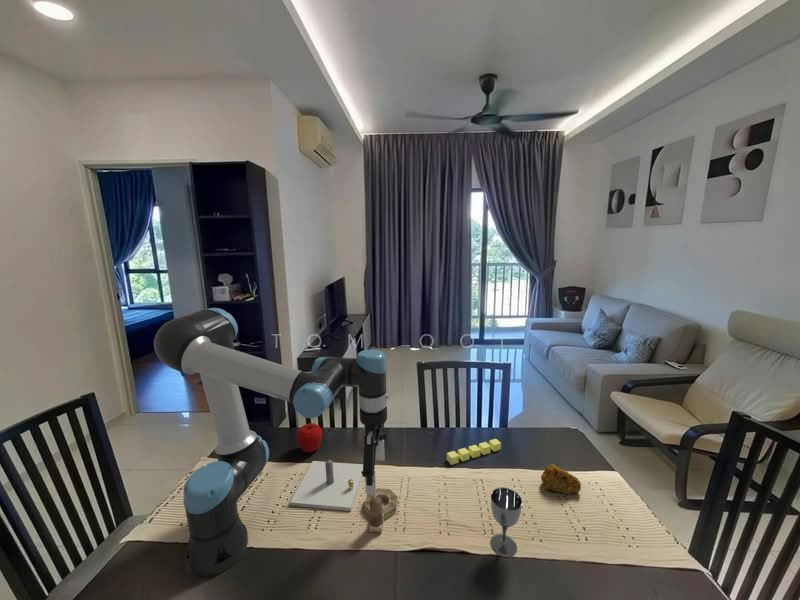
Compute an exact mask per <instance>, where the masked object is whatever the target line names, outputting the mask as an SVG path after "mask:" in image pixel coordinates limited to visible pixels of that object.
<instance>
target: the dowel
mask: <svg viewBox="0 0 800 600" xmlns="http://www.w3.org/2000/svg"><path fill="white" fill-rule="evenodd" d="M348 485H349V490H353V480H352V479H350V480H349V481H348Z"/></svg>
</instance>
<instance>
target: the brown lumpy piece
mask: <svg viewBox="0 0 800 600" xmlns="http://www.w3.org/2000/svg"><path fill="white" fill-rule="evenodd" d="M540 478H541V482H542V486H543V488H545V490H551V491H553V492H558V493H559V492H560V493H562V494H563V495H571V494H578V493H580V491H581V489H582V484H581V481H580V479H579V478H578V477H577V476H574V475H573V474H571V473H569V471H566V470H565V469H563V468H560V467H558V466H557V465H555V464H550V465H547V467H546V468H545V470H544V471H543V472H542V474H541V475H540Z"/></svg>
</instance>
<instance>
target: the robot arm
mask: <svg viewBox="0 0 800 600" xmlns="http://www.w3.org/2000/svg"><path fill="white" fill-rule="evenodd" d="M238 332H239V327H238V323H237V321H236V319H235V318H234V316H232V314H230V312H227V311H226V310H224V309H222V308H218V307H210V308H206V309H203V308H202V309H201V310H198V311H195V312H192V313H189V314H186V315H183V316H181V317H177V318H173V319H170V320H169V321H166V322H165V323H164V324H163V325H161V327H160V328H159V329H158V330H157V332H156V334H155V335H154V338H153V348H154V352H155V354H156V356H157V358H158V359H159V361H161V363H163V364H165V365H166V367H169V368H171V369H172V370H174V371H176V372H180V373H183V374H185V375H193V374H194V375H195V374H196V373H198V374H199V376H200V379H201V383H202V387H203V390H204V393H205V398H206V401H207V405H208V408H209V411H210V415H211V418H212V421H213V422H212V423H213V426H214V429H215V433H216V436H217V440H218V443H217V444H216V446H215V447H214V452H215V456H216V459H217V460H216V461H212V462H209V463H207V464H206V465H205V466H204V465H203V466H200V467H199V468H198V469H196V470H195V471H194V472H192V473H191V475H190V476H189V477H188V479H187V480H186V481H185V484H184V486H183V505H184V506H183V507H184V510H185V517H186V521H187V525H188V526H187V527H188V533H189V538H188V542H187V546H186V549H185V555H184V558H185V559H184V560H185V566H186V569H187V571H188V572H189V574H191V575H193V576H195V577H199V578H205V577H207V578H208V577H211V576H215V575H219V574H220V573H222V572H224V571H226V570H228V569H229V568H231V567H232V566H233V565H234V564H235V563H237V562H238V561H239V560H240V559H241V557H242V556H243V554H244V553H245V551H246V549H247V546H248V544H249V535H248V534H249V533H248V530H247V527H246V525H245V523H243V522H242V520H241V518H240V516H239V512H238V501H239V499H240V498H241V497H242V496H243V495H244V493H245V492H246V491H247V490H248V489H249V487H250V485H252V484H253V482H254V481H255V480H256V479H257V478H258V476H259V475H260V474H261V473H262V472H263V470H264V468H265V466H266V465H267V464H268V461H269V458H270V449H269V446H268V443H267V442H266V441H265V439H262V438H263V437H261V436H260V435H258V434H257V432H255V431H253V430H251V429H250V427H249V422H248V419H247V415H246V411H245V407H244V403H243V399H242V396H241V391H240V388H239V387H242V388H245V389H247V390H251V391H254V392H258V393H261V394H264V395H267V396H269V397H273V398H275V399H280V400H281V401H282V400H283V401H286V402H288V403H291V404H293V407H294V409H295V411H296V412H297V413H298V414H299V415H300V416H302V417H303V418H305V419H314V418H315V419H316V418H318V417H320V416H321V415H322V414H323V413H324V412H325V411H326V410H327V409H328V407H330V406H331V404H332V401H333V400H334V399H335V397H336V396H337V394H338V393H340V390H341V389H342V388H343V387H345V388H346V387H348V388H349V387H350V388H354V387H355V388H358V407H359V409H358V410H359V421H360V423H361V424H362V425H364V426H365V427H366V428H365V432H364V434H365V435H364V437H363V441H364V442H363V443H364V444H363V445H364V447H363V458H362V459H363V463H362V464H363V471H361V474H362V478H364V485H365V488H364V489H365V494H366V495H367V494H373V495H376V489H377V479H376V477H377V475H376V470H375V469H376V467H375V466H376V461H385V440H386V439H387V434H385V433H386V430H385V429H386V428H385V423H386V422H387V420H388V407H387V405H388V402H387V401H388V400H389V398H390V397H389V395H387V366H386V365H387V364H386V355H385V353H384V352H383V351H381V350H379V349H372V348H371V349H363V350H361V351H359V352H358V353H357V355H356V357H355V358H351V357H336V356H335V357H334V356H333V357H332V356H327V357H326V356H322V357H321V356H320V357H318V358H316V359H315V360H314V363H313V365H312V367H311V373H309V372H306V371H303V370H299V369H297V368H293V367H290V366H287V365H283V364H280V363H277V362H274V361H271V360H267V359H264V358H262V357H258V356H255V355H252V354H249V353H246V352H242V351H240V350H236V349H235V345H234V342H233V341H235V340H236V338H237V335H238Z"/></svg>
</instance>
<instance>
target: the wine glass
mask: <svg viewBox="0 0 800 600" xmlns="http://www.w3.org/2000/svg"><path fill="white" fill-rule="evenodd" d="M522 506H523V500H522V498H521V496H520V494H519V493H518V492H517V491H515V490H514V489H511V488H507V487H497V488H494V490H492V491H491V493H490V509H491V513H492V517H493V518H494V520H495V522H497V524H499V525H500V526H501V530H502V531H501V532H502V533H496V534H494V535H493V536H492V537H490V543H489V544H490V547H491V549H492V550H493V552H495V554H497V555H498V556H500V557H502V558H503V557H504V558H511V557H514V556H515V555H516V554H517V552H518V545H517V543H516V541H515V540H514V539H513V538H512V537H511V536H509V535H507V530H508V529H509V528H511V527H514V526H515V525H516V524H517V523H518V522H519V519H520V517H521V513H522V508H523V507H522Z"/></svg>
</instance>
